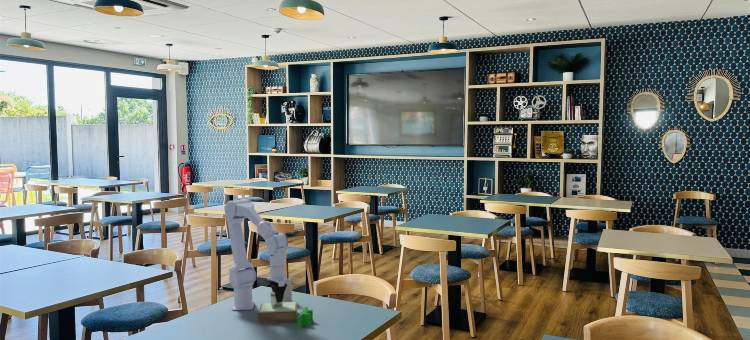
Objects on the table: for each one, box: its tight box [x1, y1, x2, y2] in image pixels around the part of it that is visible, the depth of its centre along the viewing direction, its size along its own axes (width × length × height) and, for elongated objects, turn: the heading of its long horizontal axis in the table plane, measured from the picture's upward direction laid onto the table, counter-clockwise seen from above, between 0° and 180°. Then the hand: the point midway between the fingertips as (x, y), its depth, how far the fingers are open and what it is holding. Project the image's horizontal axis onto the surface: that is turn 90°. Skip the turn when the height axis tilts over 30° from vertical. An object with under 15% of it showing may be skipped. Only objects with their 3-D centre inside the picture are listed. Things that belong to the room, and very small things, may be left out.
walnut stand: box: [257, 301, 298, 324], centre depth 206 cm, size 11×14×4 cm
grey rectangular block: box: [283, 278, 293, 302], centre depth 225 cm, size 4×7×10 cm, turn 95°
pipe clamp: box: [297, 306, 314, 330], centre depth 200 cm, size 11×4×5 cm, turn 174°
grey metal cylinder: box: [270, 290, 283, 307], centre depth 205 cm, size 4×4×5 cm
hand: (278, 300), depth 205 cm, fingers closed on grey metal cylinder, 4 cm apart
